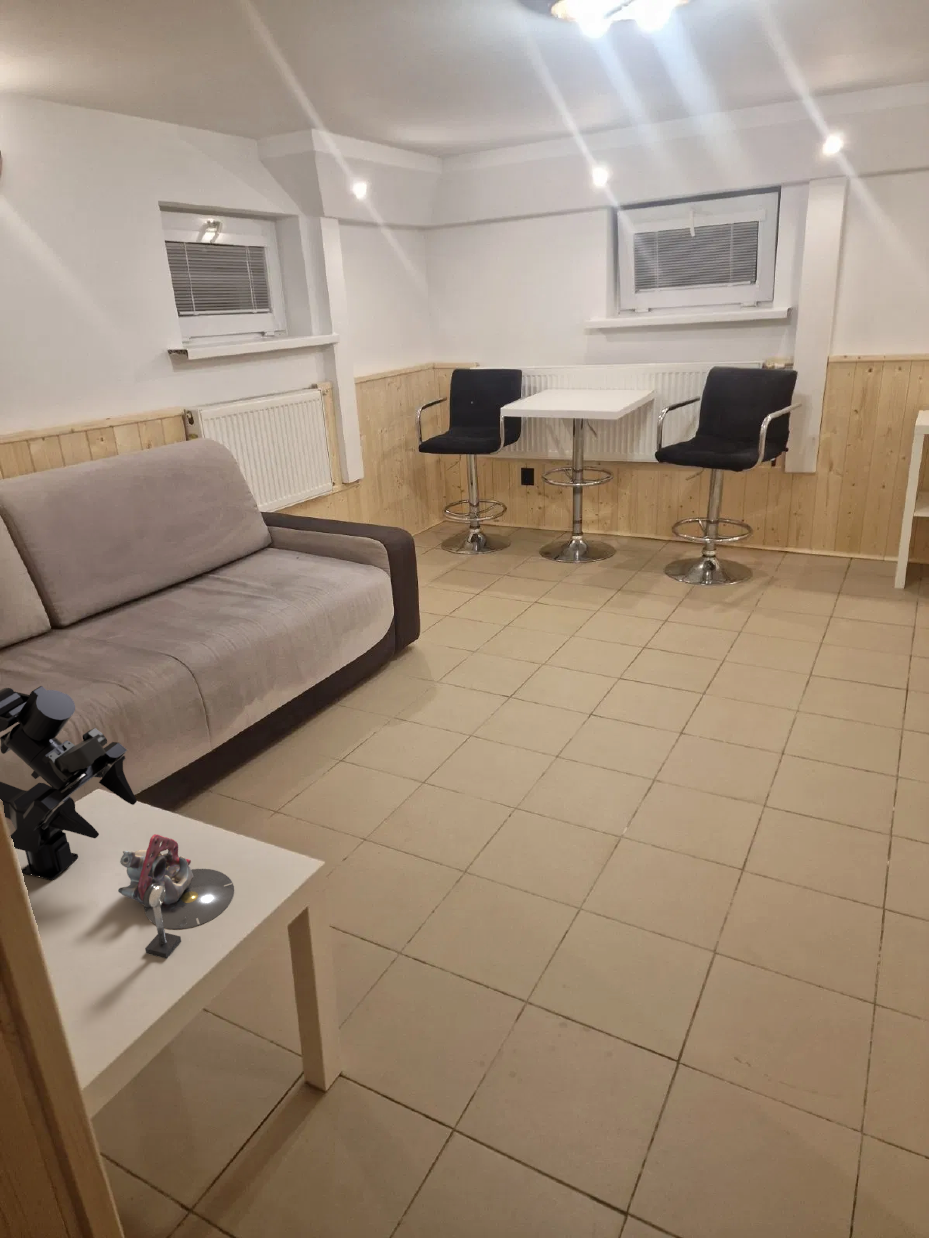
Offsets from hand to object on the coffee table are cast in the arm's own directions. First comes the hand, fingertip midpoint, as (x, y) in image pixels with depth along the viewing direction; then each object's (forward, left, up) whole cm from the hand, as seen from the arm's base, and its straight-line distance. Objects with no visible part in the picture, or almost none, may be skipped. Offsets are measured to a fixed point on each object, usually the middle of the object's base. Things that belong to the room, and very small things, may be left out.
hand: (116, 819), depth 132 cm
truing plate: (+12, 0, -13) cm, 17 cm away
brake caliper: (+6, 0, -13) cm, 14 cm away
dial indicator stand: (+14, -11, -13) cm, 22 cm away
